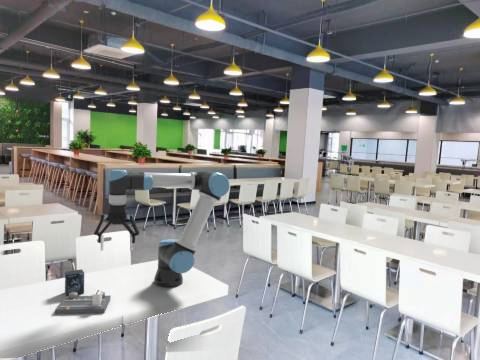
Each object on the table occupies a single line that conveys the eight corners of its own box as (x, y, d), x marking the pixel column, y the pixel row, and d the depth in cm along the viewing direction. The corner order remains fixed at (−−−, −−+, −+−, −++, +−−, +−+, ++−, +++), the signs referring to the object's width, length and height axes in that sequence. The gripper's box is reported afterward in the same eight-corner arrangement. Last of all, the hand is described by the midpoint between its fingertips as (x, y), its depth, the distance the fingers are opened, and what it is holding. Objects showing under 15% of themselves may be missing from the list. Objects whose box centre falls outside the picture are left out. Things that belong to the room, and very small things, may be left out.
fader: (102, 300, 168) (102, 289, 168) (99, 305, 163) (99, 294, 163) (95, 300, 168) (95, 289, 167) (92, 305, 163) (92, 294, 162)
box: (66, 296, 176) (66, 274, 176) (64, 292, 181) (64, 271, 180) (84, 293, 181) (84, 272, 180) (82, 289, 186) (82, 268, 185)
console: (110, 299, 175) (110, 291, 175) (104, 313, 161) (104, 304, 161) (65, 300, 172) (65, 291, 172) (54, 314, 158) (54, 305, 158)
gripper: (145, 203, 175) (144, 247, 177) (91, 201, 172) (91, 247, 174) (144, 205, 168) (143, 252, 170) (87, 204, 164) (86, 252, 166)
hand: (116, 250), depth 172 cm, fingers open, 12 cm apart
